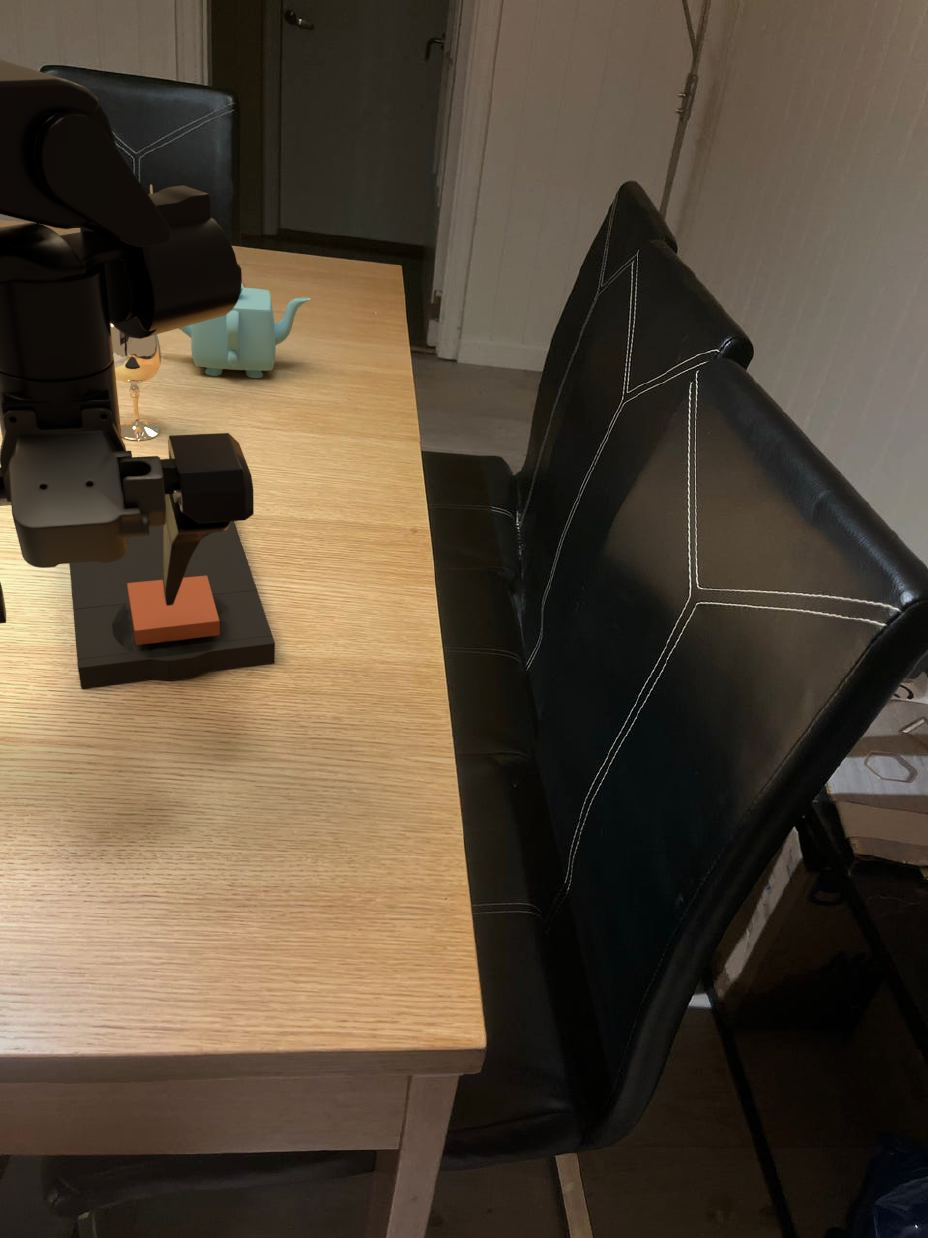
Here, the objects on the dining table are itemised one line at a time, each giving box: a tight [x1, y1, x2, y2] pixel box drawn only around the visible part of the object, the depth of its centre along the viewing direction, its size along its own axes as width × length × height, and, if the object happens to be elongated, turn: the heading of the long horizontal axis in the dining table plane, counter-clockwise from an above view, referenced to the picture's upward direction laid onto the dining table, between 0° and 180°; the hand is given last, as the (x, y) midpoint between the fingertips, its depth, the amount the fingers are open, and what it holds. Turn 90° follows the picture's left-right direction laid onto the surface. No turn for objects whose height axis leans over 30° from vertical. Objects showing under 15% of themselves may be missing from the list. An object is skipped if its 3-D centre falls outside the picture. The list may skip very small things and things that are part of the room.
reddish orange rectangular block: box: [127, 576, 220, 645], centre depth 70 cm, size 6×6×4 cm
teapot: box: [178, 285, 311, 379], centre depth 112 cm, size 18×14×10 cm
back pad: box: [69, 521, 276, 689], centre depth 77 cm, size 26×14×2 cm, turn 21°
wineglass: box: [110, 322, 162, 441], centre depth 94 cm, size 6×6×12 cm
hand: (88, 610), depth 54 cm, fingers open, 9 cm apart
